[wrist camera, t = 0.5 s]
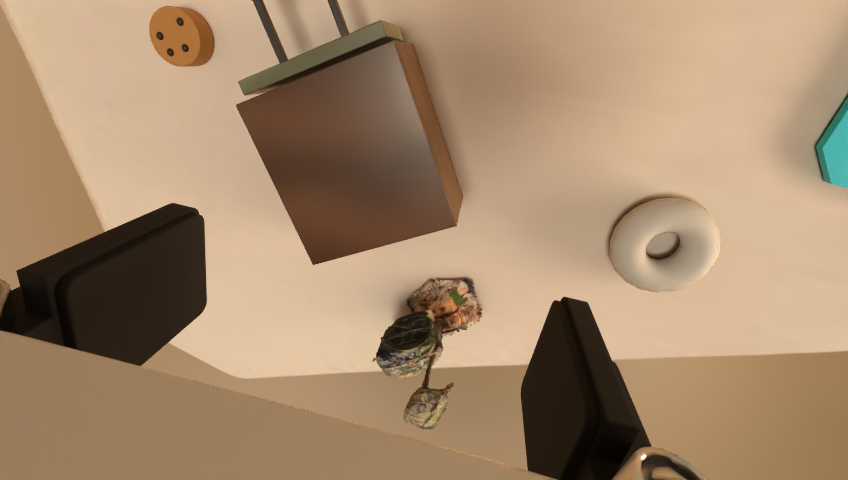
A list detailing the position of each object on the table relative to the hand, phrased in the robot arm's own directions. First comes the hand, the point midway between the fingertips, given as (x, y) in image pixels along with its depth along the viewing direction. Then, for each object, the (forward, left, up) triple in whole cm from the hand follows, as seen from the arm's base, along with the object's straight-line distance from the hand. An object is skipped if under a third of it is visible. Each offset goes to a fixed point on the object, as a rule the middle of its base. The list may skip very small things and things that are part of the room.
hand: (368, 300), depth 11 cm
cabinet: (0, -9, -33) cm, 35 cm away
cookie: (-16, -23, -33) cm, 44 cm away
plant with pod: (+20, -9, -34) cm, 40 cm away
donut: (+18, +16, -34) cm, 41 cm away
